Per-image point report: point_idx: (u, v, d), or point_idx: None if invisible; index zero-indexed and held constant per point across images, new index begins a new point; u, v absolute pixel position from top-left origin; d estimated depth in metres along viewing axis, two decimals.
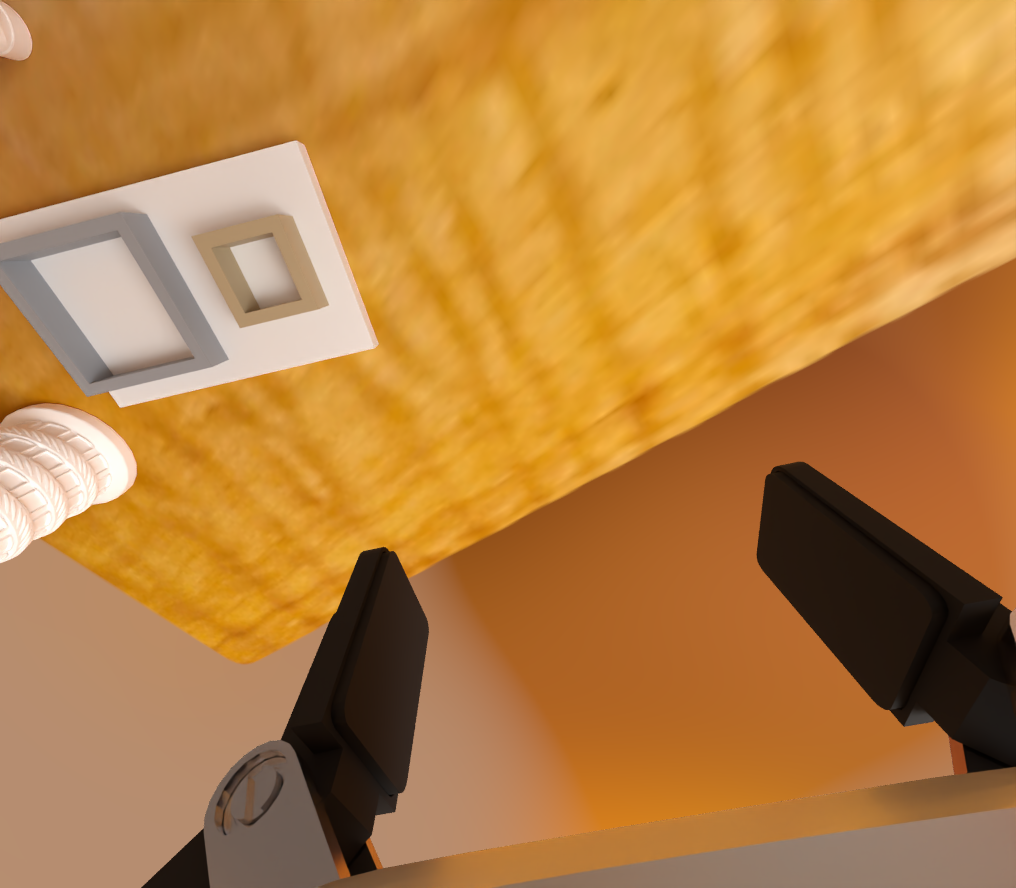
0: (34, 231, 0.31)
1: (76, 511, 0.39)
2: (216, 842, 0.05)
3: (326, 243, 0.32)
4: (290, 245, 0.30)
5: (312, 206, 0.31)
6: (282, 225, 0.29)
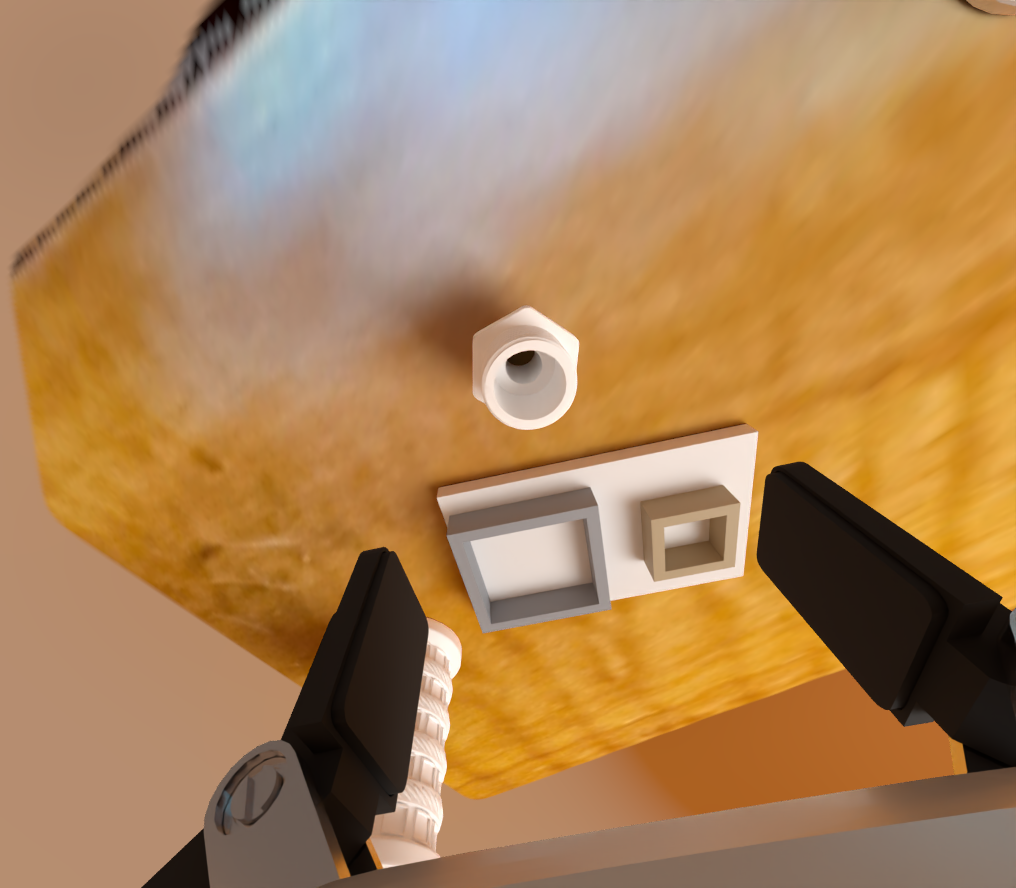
0: (480, 501, 0.32)
1: None
2: (216, 842, 0.05)
3: (742, 503, 0.33)
4: (737, 523, 0.31)
5: (745, 477, 0.32)
6: (739, 510, 0.31)
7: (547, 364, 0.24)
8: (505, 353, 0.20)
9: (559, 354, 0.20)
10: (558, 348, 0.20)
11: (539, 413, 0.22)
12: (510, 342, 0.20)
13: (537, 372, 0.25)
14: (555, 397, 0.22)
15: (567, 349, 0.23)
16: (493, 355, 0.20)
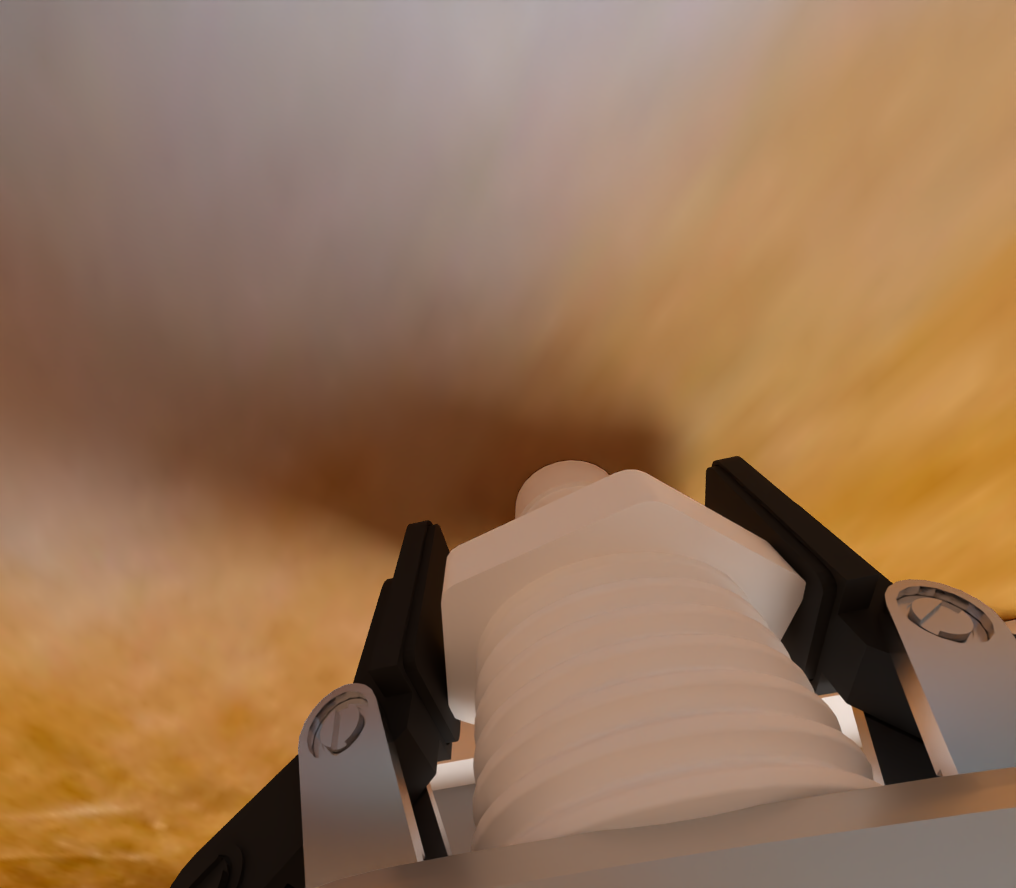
0: None
1: None
2: (313, 765, 0.06)
3: None
4: None
5: None
6: None
7: None
8: None
9: None
10: None
11: None
12: (631, 820, 0.03)
13: None
14: None
15: (762, 607, 0.07)
16: None
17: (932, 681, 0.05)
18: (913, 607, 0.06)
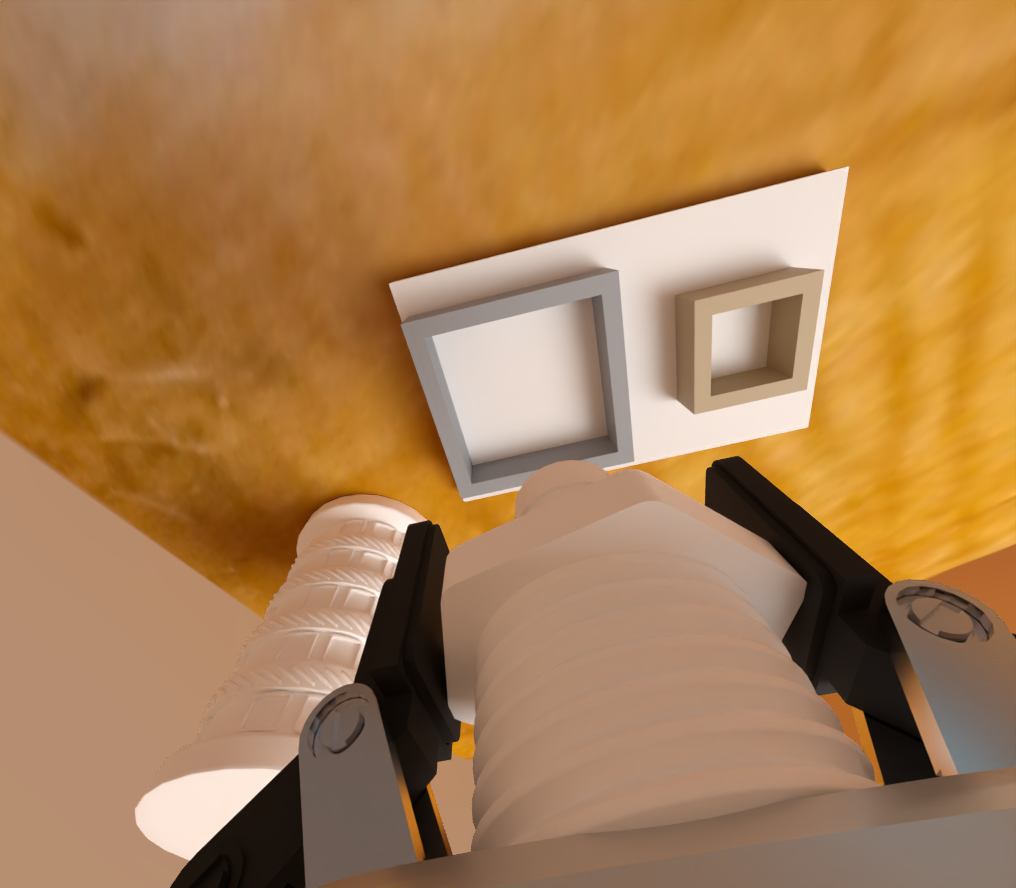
0: (451, 291, 0.23)
1: None
2: (313, 765, 0.06)
3: None
4: (816, 310, 0.22)
5: (824, 254, 0.23)
6: (821, 284, 0.21)
7: None
8: None
9: None
10: None
11: None
12: (632, 823, 0.03)
13: None
14: None
15: (763, 607, 0.07)
16: None
17: (932, 681, 0.05)
18: (913, 607, 0.06)
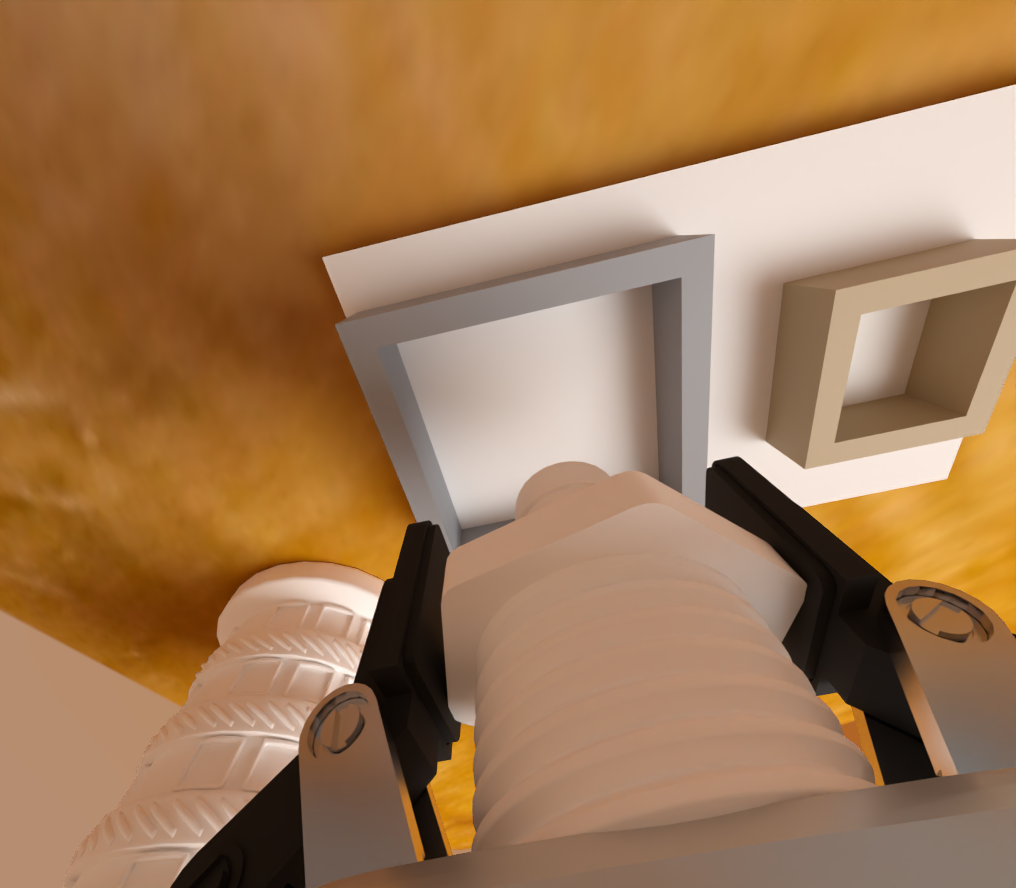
0: (425, 272, 0.14)
1: None
2: (313, 765, 0.06)
3: None
4: None
5: None
6: None
7: None
8: None
9: None
10: None
11: None
12: (632, 826, 0.03)
13: None
14: None
15: (763, 609, 0.07)
16: None
17: (932, 681, 0.05)
18: (913, 607, 0.06)
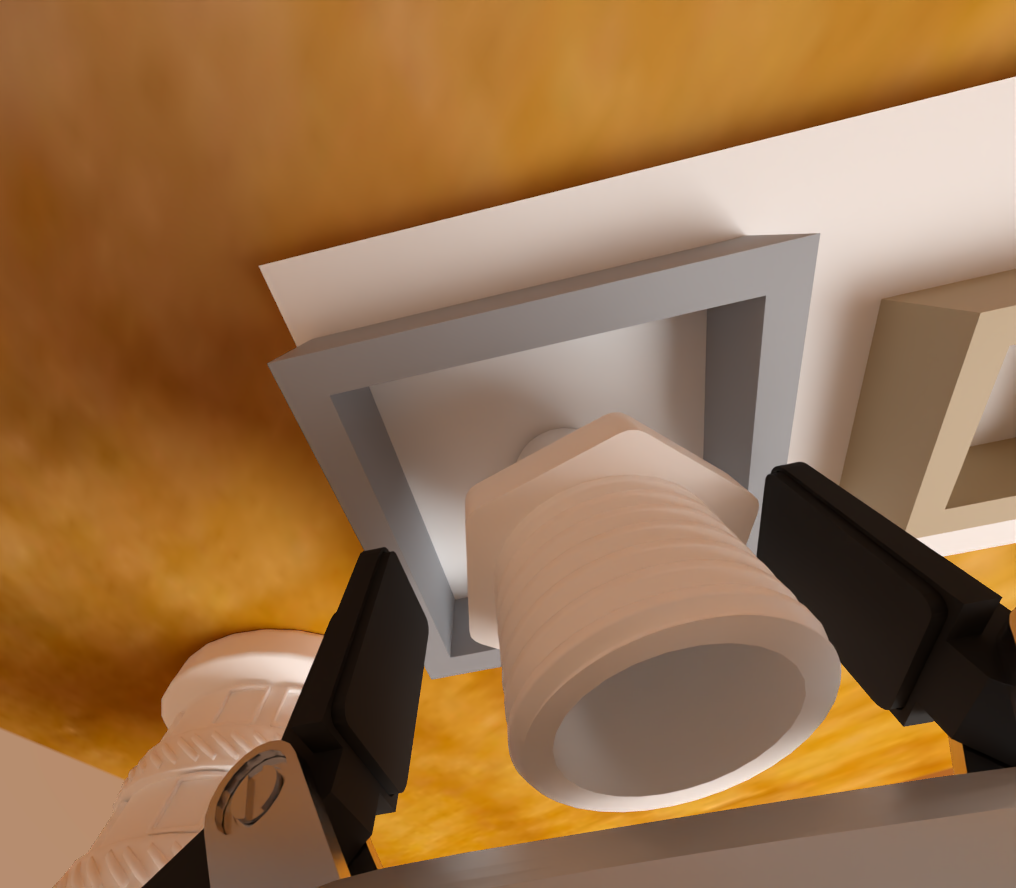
0: (402, 286, 0.10)
1: None
2: (216, 842, 0.05)
3: None
4: None
5: None
6: None
7: None
8: (606, 662, 0.05)
9: (805, 644, 0.05)
10: (806, 627, 0.05)
11: (676, 740, 0.07)
12: (626, 622, 0.05)
13: None
14: (718, 686, 0.08)
15: (725, 523, 0.08)
16: (557, 664, 0.05)
17: None
18: None
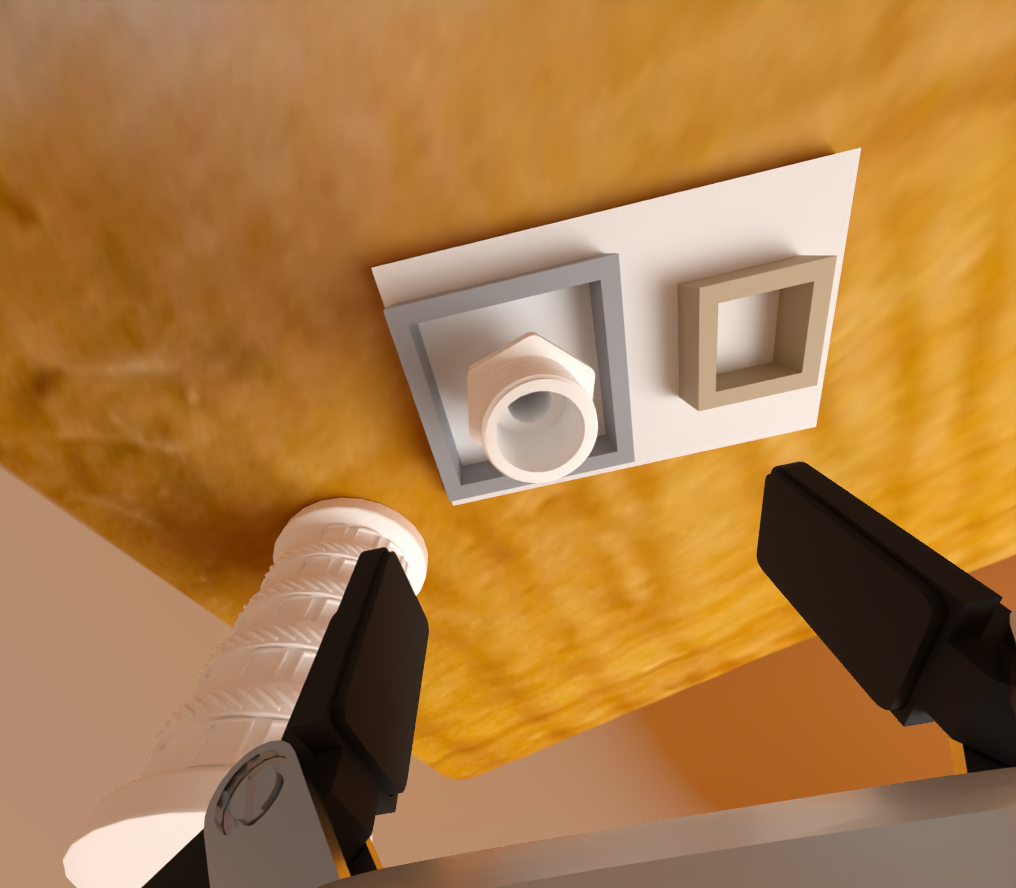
0: (438, 277, 0.21)
1: None
2: (216, 842, 0.05)
3: None
4: (827, 299, 0.21)
5: (834, 241, 0.22)
6: (833, 271, 0.20)
7: (557, 399, 0.20)
8: (510, 395, 0.16)
9: (576, 394, 0.16)
10: (575, 387, 0.16)
11: (551, 461, 0.18)
12: (515, 382, 0.16)
13: (545, 408, 0.21)
14: (570, 442, 0.18)
15: (581, 382, 0.19)
16: (495, 398, 0.16)
17: None
18: None
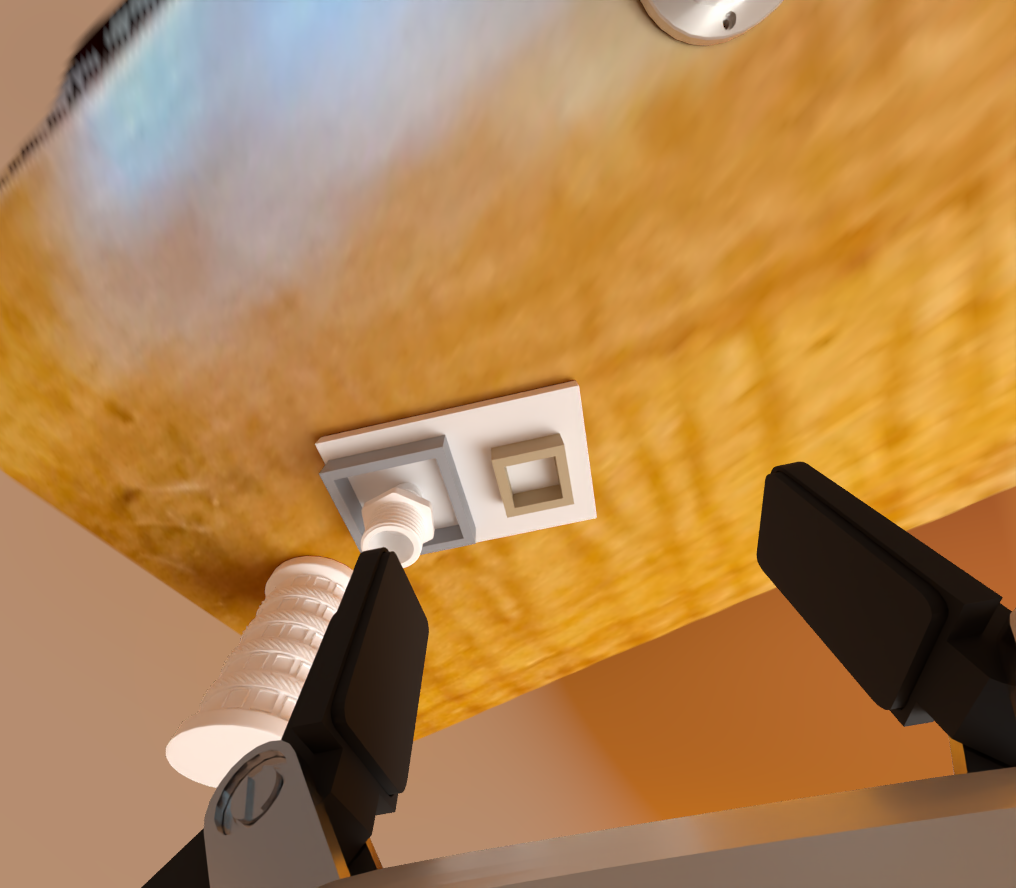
0: (353, 447, 0.38)
1: None
2: (216, 842, 0.05)
3: (580, 450, 0.39)
4: (566, 463, 0.37)
5: (577, 426, 0.38)
6: (565, 451, 0.36)
7: None
8: (371, 532, 0.33)
9: (405, 531, 0.33)
10: (404, 528, 0.33)
11: (403, 557, 0.35)
12: (374, 526, 0.33)
13: None
14: (413, 547, 0.35)
15: (423, 512, 0.36)
16: (365, 533, 0.33)
17: None
18: None
